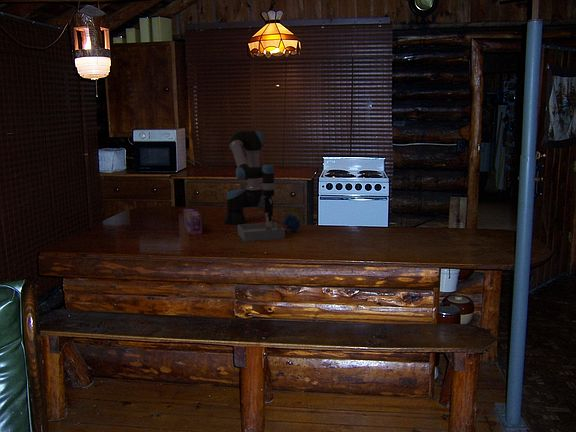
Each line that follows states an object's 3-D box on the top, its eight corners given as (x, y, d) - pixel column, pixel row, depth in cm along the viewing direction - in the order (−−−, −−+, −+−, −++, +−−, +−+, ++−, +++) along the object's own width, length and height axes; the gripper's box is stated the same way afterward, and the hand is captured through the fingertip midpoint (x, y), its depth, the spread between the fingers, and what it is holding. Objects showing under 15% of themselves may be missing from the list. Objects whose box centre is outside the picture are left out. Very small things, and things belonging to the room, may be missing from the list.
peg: (265, 231, 373) (265, 213, 370) (271, 230, 374) (271, 212, 371) (266, 232, 369) (266, 214, 366) (272, 232, 370) (272, 213, 367)
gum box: (203, 234, 377) (202, 213, 374) (191, 235, 374) (190, 214, 372) (195, 226, 399) (194, 207, 396) (183, 227, 396) (183, 208, 393)
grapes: (282, 233, 378) (282, 215, 375) (283, 230, 384) (283, 213, 382) (299, 233, 376) (299, 215, 373) (301, 231, 382) (301, 213, 380)
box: (237, 233, 377) (237, 224, 376) (276, 230, 384) (275, 222, 383) (244, 241, 356) (244, 232, 355) (284, 238, 363) (284, 229, 362)
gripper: (259, 187, 373) (260, 222, 377) (265, 191, 357) (266, 228, 361) (270, 187, 375) (271, 222, 379) (277, 191, 359) (278, 227, 363)
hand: (268, 225), depth 370 cm, fingers closed on peg, 4 cm apart
